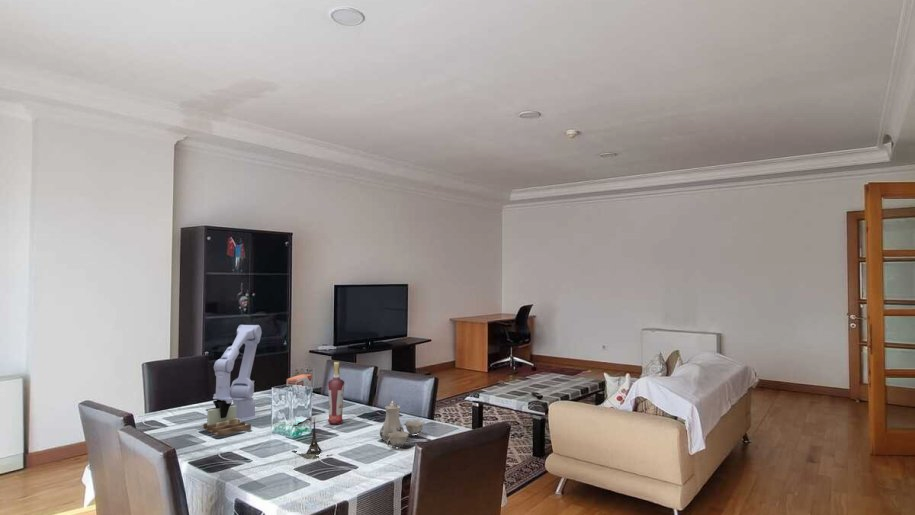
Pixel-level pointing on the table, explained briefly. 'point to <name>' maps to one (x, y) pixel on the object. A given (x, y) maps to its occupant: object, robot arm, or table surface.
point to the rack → (227, 428)
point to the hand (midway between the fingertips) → (222, 417)
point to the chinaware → (397, 427)
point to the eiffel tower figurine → (312, 453)
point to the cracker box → (300, 380)
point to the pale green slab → (215, 417)
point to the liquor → (335, 396)
